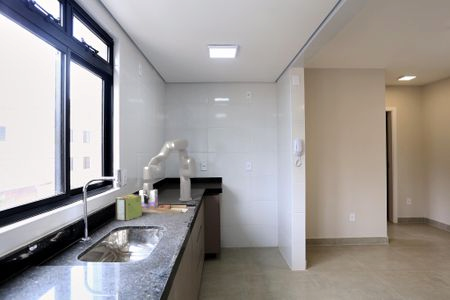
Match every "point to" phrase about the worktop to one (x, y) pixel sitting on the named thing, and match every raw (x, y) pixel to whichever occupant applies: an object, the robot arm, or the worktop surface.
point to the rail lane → (166, 209)
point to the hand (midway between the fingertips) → (148, 202)
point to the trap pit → (164, 207)
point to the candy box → (150, 200)
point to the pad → (182, 209)
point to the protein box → (128, 207)
